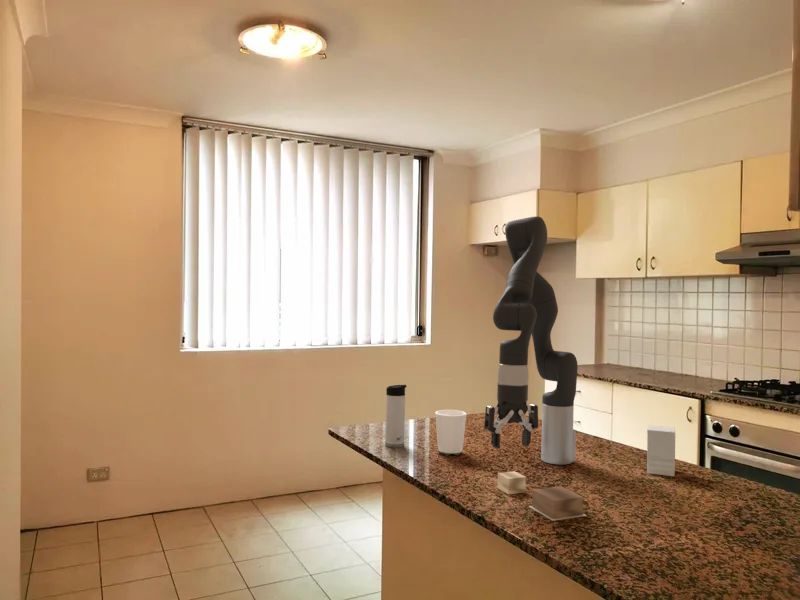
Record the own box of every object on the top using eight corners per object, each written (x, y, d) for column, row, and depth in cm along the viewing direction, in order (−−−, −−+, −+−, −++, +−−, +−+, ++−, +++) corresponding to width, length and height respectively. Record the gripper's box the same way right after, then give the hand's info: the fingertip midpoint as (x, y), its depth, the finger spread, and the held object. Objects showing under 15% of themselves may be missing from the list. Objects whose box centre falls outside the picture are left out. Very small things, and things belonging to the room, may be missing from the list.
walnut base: (560, 503, 143) (561, 486, 143) (583, 514, 135) (583, 497, 135) (532, 506, 140) (532, 489, 140) (553, 519, 132) (553, 501, 132)
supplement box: (674, 470, 176) (675, 427, 176) (674, 477, 169) (675, 432, 169) (647, 466, 179) (648, 424, 179) (646, 473, 172) (647, 429, 172)
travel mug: (403, 448, 194) (404, 386, 194) (383, 447, 196) (384, 385, 195) (406, 443, 200) (408, 383, 200) (387, 442, 202) (388, 382, 201)
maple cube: (514, 490, 155) (514, 471, 155) (525, 496, 150) (525, 476, 150) (497, 492, 153) (497, 473, 153) (508, 499, 148) (508, 478, 148)
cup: (429, 455, 187) (430, 414, 187) (439, 447, 196) (440, 408, 196) (460, 458, 183) (461, 417, 183) (469, 451, 193) (470, 411, 192)
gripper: (528, 379, 158) (526, 441, 158) (480, 380, 152) (478, 444, 152) (545, 383, 151) (543, 448, 151) (495, 385, 145) (493, 452, 145)
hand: (510, 446), depth 152 cm, fingers open, 8 cm apart
